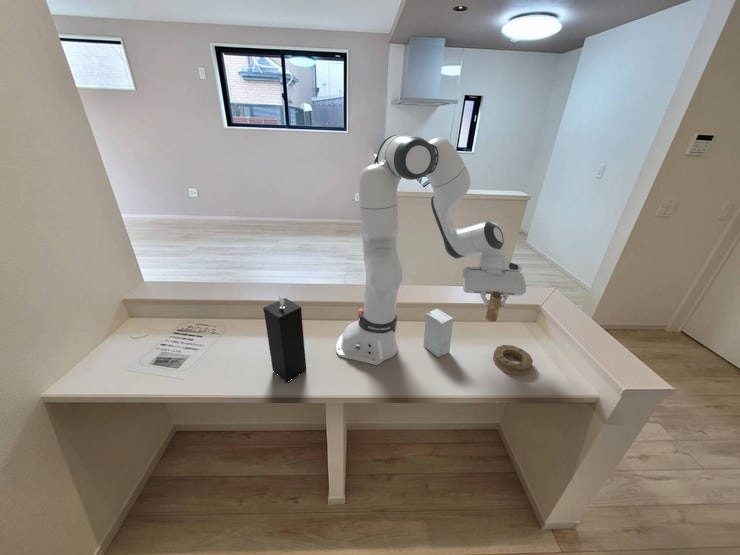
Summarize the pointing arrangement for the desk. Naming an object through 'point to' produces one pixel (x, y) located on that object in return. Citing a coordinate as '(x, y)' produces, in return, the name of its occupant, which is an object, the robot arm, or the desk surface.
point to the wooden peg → (494, 306)
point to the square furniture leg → (285, 338)
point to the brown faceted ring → (510, 366)
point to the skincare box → (438, 332)
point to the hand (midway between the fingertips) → (494, 306)
